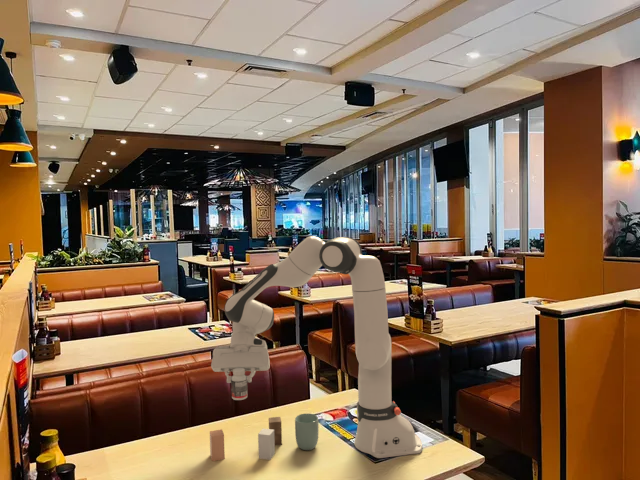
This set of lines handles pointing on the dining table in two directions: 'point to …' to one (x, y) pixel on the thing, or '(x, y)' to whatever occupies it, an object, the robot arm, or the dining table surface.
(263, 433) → the grey block
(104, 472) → the dining table surface
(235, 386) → the pill bottle
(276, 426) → the walnut block
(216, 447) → the terracotta block
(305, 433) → the cup
